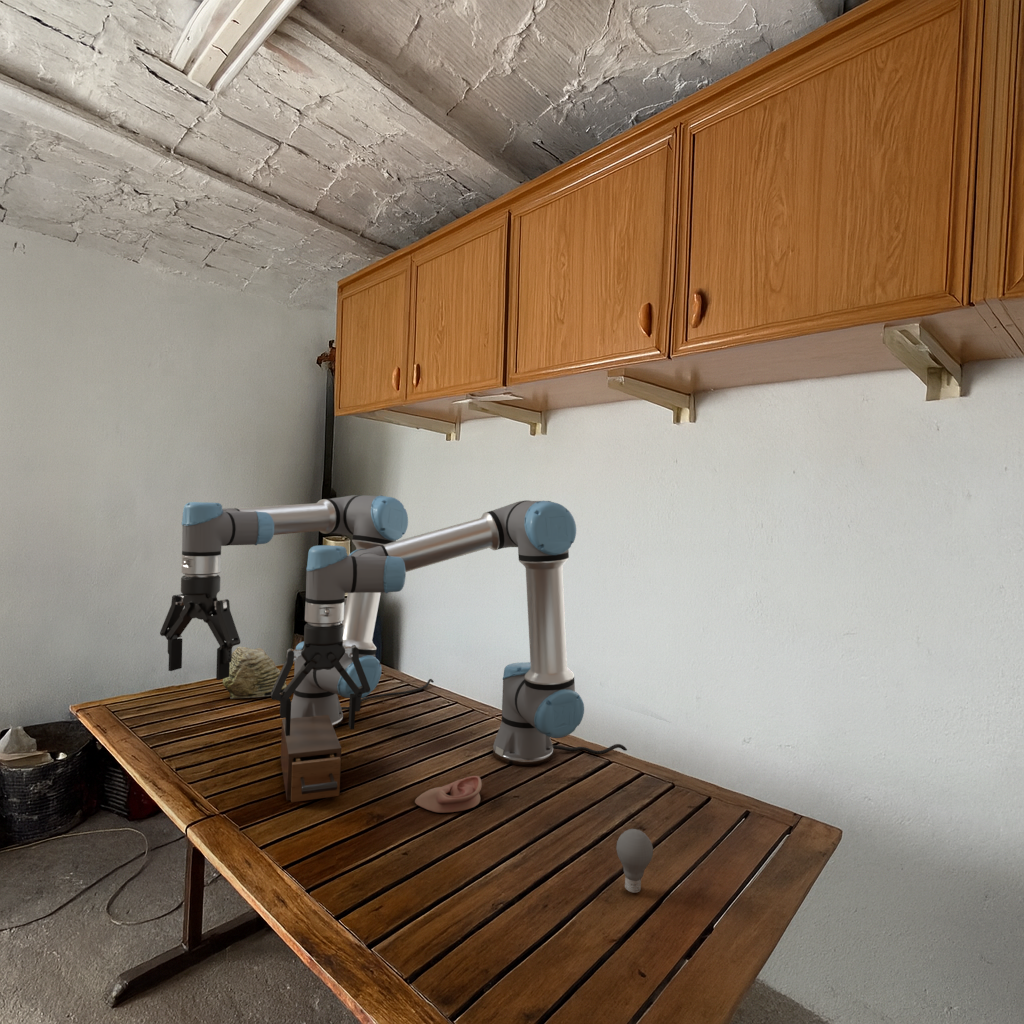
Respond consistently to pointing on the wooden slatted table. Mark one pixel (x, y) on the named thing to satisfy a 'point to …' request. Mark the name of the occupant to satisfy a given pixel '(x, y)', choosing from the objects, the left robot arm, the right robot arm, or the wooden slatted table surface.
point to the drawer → (315, 777)
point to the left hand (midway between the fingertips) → (198, 673)
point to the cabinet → (307, 743)
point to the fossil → (251, 674)
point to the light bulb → (634, 857)
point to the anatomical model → (452, 796)
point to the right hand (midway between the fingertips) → (320, 730)
